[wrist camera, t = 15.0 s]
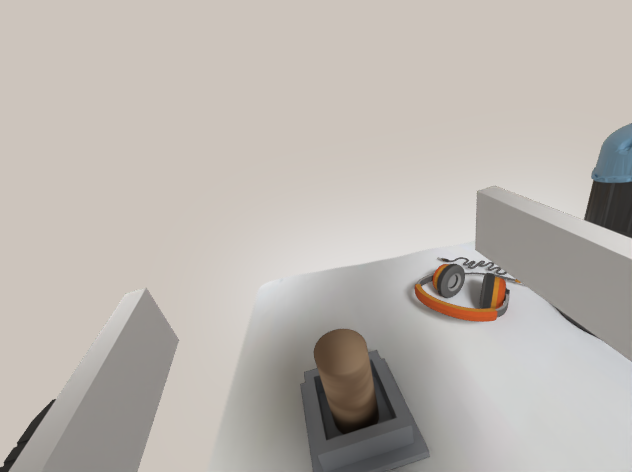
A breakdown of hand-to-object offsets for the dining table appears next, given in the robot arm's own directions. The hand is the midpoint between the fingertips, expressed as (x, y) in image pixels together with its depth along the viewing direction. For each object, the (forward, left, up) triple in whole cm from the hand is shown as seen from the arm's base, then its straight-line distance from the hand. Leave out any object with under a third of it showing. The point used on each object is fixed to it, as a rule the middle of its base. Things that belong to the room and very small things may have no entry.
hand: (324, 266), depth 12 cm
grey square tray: (0, -10, -27) cm, 28 cm away
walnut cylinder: (0, -10, -26) cm, 28 cm away
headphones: (-23, -23, -27) cm, 42 cm away
